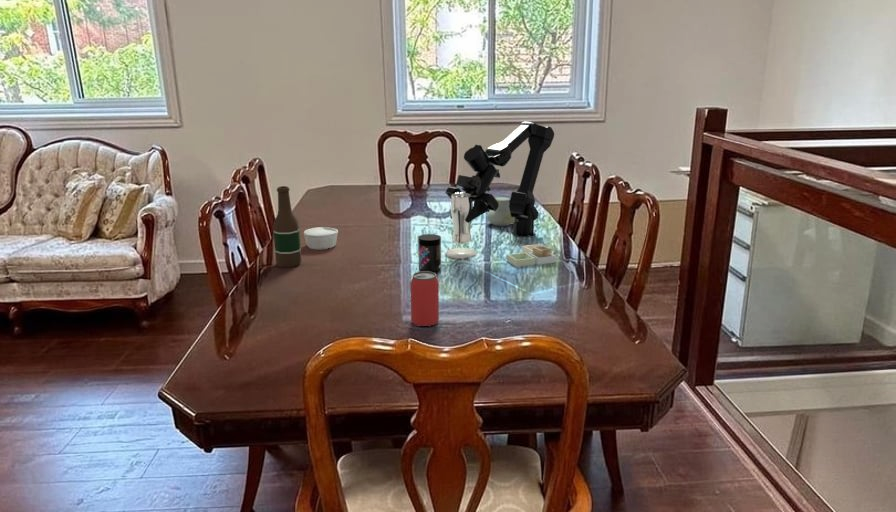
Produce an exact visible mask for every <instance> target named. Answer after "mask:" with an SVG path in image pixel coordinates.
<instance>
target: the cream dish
mask: <svg viewBox="0 0 896 512" xmlns="http://www.w3.org/2000/svg"><path fill="white" fill-rule="evenodd" d="M538 246H544V245H543V244H541V243H535V244H527V245H522V252H521V253H524V252H525V253H527V254H528V252H533V247H538Z"/></svg>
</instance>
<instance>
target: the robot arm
mask: <svg viewBox="0 0 896 512" xmlns="http://www.w3.org/2000/svg"><path fill="white" fill-rule="evenodd" d="M554 138H555V131H554V130H553V128H552V127H551V126H548V125H547V126H545V125H540V124H538V123H535V122H532V121H522V122H521V123H520V124H519V126H518V127H517V128H516V129H514V130H513V131H512V132H511V133H510V134H509V135H508V136H506V137H505V138H504V139H503V140H502V141H500V142H497V143H494V144H491V145H490V146H489V147H487V148H486V149H485V150H484V148H483V146H482V145H481V144H475V145H474V146H473V147H470V148H469V149H468V150H466V151H465V152H464V155H463V160H465V163H467V165H468V166H469V167H470V168H471V171H474V172H475V174H474V175H472V176H466V175H461V174H459V175H458V176H457V179H456V183H455V185H456V186H460V187H462V190H461V189H460V188H459V187H456V186H455V187H454V186H448V187H447V189H446V190H445V194H446V195H447V196H448V197H449V199H450V200H451V197H452V196H451V195H452V194H454V193H463V192H462V191H464V193H470V194H472V199H473V208H472V210H471V212H470V213H469V215H468V217H467V220H466V222H467V223H469V222H471V223H472V221H474V220H475V219H477V218H479V217H481V216H482V215H484V214H486V213H489V212H490V211H491V210H492V211H496V210H497V208H498V206H499V203H498V201H497V200H496V199H495V198H496V197H495V196H494V194H491V193H489V192H490V191H491V188H490V186H491V184H492V183H493V180H494V179H495V178H497V179H500V178H501V174H500V169H498V168H496V166H497V167H501V168H502V167H505V166H506V165H507V164H508V162H509V161H510V160H511V159H512V154H513V152H515V150H516V149H518V148H519V147H520V146H521V145H522V144H523V143H524V142H525V141H527V143H528V146H529V151H528V156H527V159H526V163H525V166H524V169H523V173H522V178H521V181H520V183H519V184H520V185H519V188H518V189H517V190H516V191H512V192H511V194H510V198H509V199H510V201H509V209H510V214H511V217H515V220H514V222H513V223H512V225H513V226H512V231H511V233H512V234H513V235H515V236H516V237H519V238H526V237H533V236H536V233H535V232H534V228H535V221H536V220H537V219H538V218H539V215H540V212H539V211H538V209H537V208H536V206H535V203H536V199H535V196H534V188H535V185H536V183H537V179H538V175H539V171H540V167H541V163H542V161H543V156H544V153H545V152H546V151H547V150H548V149H549V148H550V147H551V145H552V143H553V140H554ZM449 218H450V219H451V220H452V216H451V214H450V216H449Z"/></svg>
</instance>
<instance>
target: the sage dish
mask: <svg viewBox="0 0 896 512" xmlns="http://www.w3.org/2000/svg"><path fill="white" fill-rule="evenodd" d="M506 263H509V264H511V265H512V266H513V267H515V268H518V267H528V266H535V265H536V264H535V258H534V257H532V256H531V255H529V254H527V253H525V252H524V253H523V252H518V253H510V254H509V253H508V254H506Z"/></svg>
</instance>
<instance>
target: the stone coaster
mask: <svg viewBox="0 0 896 512" xmlns="http://www.w3.org/2000/svg"><path fill="white" fill-rule="evenodd" d="M477 254H478V252H477V251H476V250H475V249H471V248H467V247H457V248H456V247H455V248H451V249H448V250H446V251H445V256H446V257H448V258H451V259H455V260H462V259H464V258H465V259H466V258H472V257H474V256H476V255H477Z"/></svg>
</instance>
